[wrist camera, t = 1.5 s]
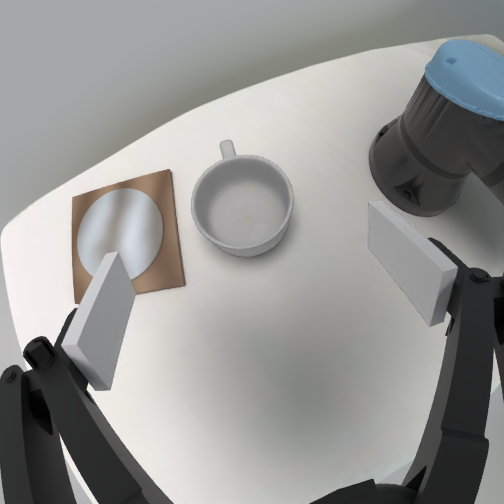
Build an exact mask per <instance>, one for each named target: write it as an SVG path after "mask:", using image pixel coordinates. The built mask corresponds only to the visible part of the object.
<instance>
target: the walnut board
mask: <svg viewBox="0 0 504 504" xmlns="http://www.w3.org/2000/svg"><path fill="white" fill-rule="evenodd" d="M116 251H119V254H120V256H121V259H122V261H123V263H124V266H125V268H126V271H127V273H128V275H129V278H130V280H131V282H132V285H133V287H134V289H135V291H136V294H142V293H147V292H153V291H158V290H164V289H169V288H174V287H180V286H185V285H186V284H185V278H184V271H183V264H182V257H181V250H180V242H179V234H178V226H177V218H176V209H175V200H174V191H173V181H172V173H171V171H170V169H167V170H163V171H159V172H156V173H152V174H148V175H144V176H141V177H137V178H133V179H130V180H126V181H123V182H119V183H116V184H113V185H109V186H106V187H103V188H100V189H96V190H93V191H90V192H87V193H84V194H81V195H78V196H75V197H73V199H72V268H73V286H74V299H75V304H80V303H81V301H82V299H83V297H84V295H85V293H86V291H87V289H88V287H89V285H90V283H91V281H92V279H93V277H94V275H95V273H96V271H97V269H98V267H99V266H100V264H101V262H102V260H103V258H104V256H105V255H106V254H107V253H112V252H116Z"/></svg>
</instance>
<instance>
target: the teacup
mask: <svg viewBox="0 0 504 504" xmlns="http://www.w3.org/2000/svg"><path fill="white" fill-rule="evenodd" d="M220 149H221V152H222V156H223V160H221V161H219V162H217V163H215V164H214V165H212V166H211V167H209V168H208V169H207V170H206V171H205V172H204V173H203V174H202V175H201V177H200V178H199V179H198V181H197V183H196V185H195V187H194V190H193V193H192V198H191V212H192V216H193V219H194V222H195V224H196V226H197V228H198V229H199V230H200V232H201V233H202V234H203V235H204V236H205V237H206V238H207V239H209V240H210V241H211V242H212V243H213V244H215V245H216V246H217V247H218V248H220V249H221V250H223V251H225V252H227V253H229V254H232V255H236V256H242V257H248V256H255V255H259V254H262V253H264V252H266V251H268V250H270V249H271V248H273V247H274V246H275V245H276V244H277V243H278V242H279V241H280V240H281V239H282V237H283V236H284V234H285V232H286V230H287V228H288V225H289V222H290V217H291V213H292V209H293V200H294V197H293V190H292V186H291V184H290V181H289V179H288V178H287V176H286V175H285V173H284V172H283V171H282V170H281V169H280V168H279V167H278V166H277V165H276V164H274V163H273V162H271V161H270V160H267V159H265V158H263V157H259V156H254V155H238V156H236V153H235V149H234V146H233V143H232V141H231V140H225V141H222V142H221V143H220Z"/></svg>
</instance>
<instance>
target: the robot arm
mask: <svg viewBox="0 0 504 504" xmlns="http://www.w3.org/2000/svg"><path fill="white" fill-rule="evenodd" d="M369 163H370V169H371V172H372V175H373V177H374V180H375V182H376V183H377V185H378V187H379V188H380V190H381V191H382V192H383V194H384V195H385V196H386V197H387V198H388V199H389V200H390V201H391V202H392V203H394V204H395V205H396V206H398V207H399V208H401V209H402V210H404V211H406V212H408V213H411V214H414V215H417V216H425V217H427V216H434V215H438V214H440V213H442V212H443V211H445V210H446V209H447V208H449V207H450V206H451V205H452V204H453V203H454V202H455V201H456V199H457V198H458V196H459V194H460V191H461V189H462V187H463V185H464V182H465V180H466V178H467V175H468V174H469V173H471V172H472V171H473V172H474V173H475V174H476V175H477V177H479V178H480V179H481V181H482V182H483V183H484V184H485V185H486V186H487V187H488V188H489V189H490V190H491V191H492V193H493V194H494V195H495V196H496V197H497V198H498V199H499V200H500V202H501V203H502V204H503V205H504V57H503V56H501V55H500V54H498V53H497V52H495V51H493V50H492V49H490V48H488V47H486V46H484V45H481V44H479V43H476V42H471V41H468V40H462V39H456V40H450V41H447V42H445V43H444V44H442V45H441V46H440V48H439V49H438V51H437V52H436V54H435V55H434V57H433V59H432V60H431V61H430V62H429V63H428V64H427V65H426V67H425V73H424V75H423V77H422V79H421V81H420V83H419V85H418V87H417V89H416V90H415V92H414V94H413V96H412V98H411V100H410V102H409V103H408V105H407V107H406V109H405V111H404V112H403V114H402V115H400V116H399V117H397V118H396V119H394V120H393V121H391V122H390V123H388V124H387V125H386V126H384V127H383V128H382V129H381V130H380V131H379V132H378V134H377V135H376V137H375V139H374V141H373V143H372V145H371V148H370V153H369ZM368 248H369V250H370V251H371V252H372V253H373V254H374V256H375V257H376V258H377V259H378V261H379V262H380V263H381V264H382V265H383V267H384V268H385V269H386V270H387V272H388V273H389V274H390V275H391V277H392V278H393V279H394V281H395V282H396V283H397V284H398V286H399V287H400V288H401V290H402V291H403V292H404V293H405V295H406V296H407V297H408V299H409V300H410V301H411V303H412V304H413V305H414V307H415V308H416V309H417V311H418V312H419V313H420V315H421V316H422V318H423V319H424V320H425V322H426V323H427V325H428V326H429V327H430V326H433V325H436V324H439V323H441V322H443V321H444V318H445V315H446V311H448V313H449V314H450V315H451V320H450V323H449V326H448V328H447V331H446V334H445V336H447V341H446V347H445V352H444V357H443V362H442V367H441V372H440V376H439V380H438V385H437V389H436V393H435V396H434V400H433V404H432V407H431V411H430V414H429V418H428V421H427V424H426V427H425V431H424V434H423V437H422V440H421V442H420V445H419V448H418V451H417V454H416V456H415V459H414V461H413V464H412V466H411V468H410V469H409V471H408V473H407V475H406V477H405V479H404V481H403V483H402V485H396V484H375V482H374V479H370V480H367V481H364V482H361V483H358V484H354V485H351V486H348V487H344V488H341V489H338V490H336V491H334V492H332V493H330V494H328V495H326V496H324V497H322V498H320V499H318V500H316V501H314V502H312V503H309V504H474V502H475V499H476V496H477V493H478V489H479V486H480V482H481V479H482V475H483V471H484V467H485V463H486V459H487V455H488V449H489V440H488V439H486V438H485V436H484V433H485V426H486V421H487V414H488V408H489V400H490V392H491V383H492V371H493V353H494V350H495V354H496V359H497V364H498V369H499V375H500V381H501V387H502V393H503V400H504V273H503V276H502V277H491V276H490V275H489V274H488V273H487V272H486V271H484V270H482V269H479V268H468V267H467V266H466V265H465V264H464V263H463V262H462V261H461V260H460V259H459V258H458V257H457V256H455V255H454V254H452V252H451V251H450V250H449V249H447V247H445V246H444V245H443V244H442V243H441V242H439V241H437V240H435V239H433V238H426V237H425V236H424V235H423V234H422V233H420V232H419V231H418V230H417V229H416V228H415V227H413V226H412V225H411V224H410V223H409V222H408V221H406V220H405V219H404V218H403V217H402V216H400V215H399V214H398V213H397V212H396V211H394V210H393V209H392V208H391V207H389V206H388V205H387V204H386V203H384V202H383V201H382V200H378V201H372V202H369V223H368ZM135 296H136V291H135V289H134V287H133V285H132V282H131V280H130V278H129V275H128V273H127V271H126V268H125V266H124V263H123V261H122V259H121V256H120V254H119V251H116V252H112V253H107V254H106V255H105V256H104V258H103V260H102V262H101V264H100V266H99V267H98V269H97V271H96V273H95V275H94V277H93V279H92V281H91V283H90V285H89V287H88V289H87V291H86V293H85V295H84V297H83V299H82V301H81V303H80V305H79V307H78V308H74V310H73V311H72V312H71V313H70V314H69V315H68V317H67V319H66V321H65V323H64V325H63V327H62V329H61V332H60V334H59V336H58V338H57V340H56V342H55V345H54V347H53V346H52V344H51V343H50V342H49V340H48V339H47V338H46V337H44V336H40V337H37V338H35V339H33V340H32V341H30V342H29V343H28V344H27V346H26V347H25V349H24V351H23V357H24V358H25V360H26V361H27V362H28V363H29V365H30V366H31V367H32V368H33V369H32V370H29V371H26V372H23V370H22V369H21V368H20V367H19V366H18V365H12V366H10V367H9V368H7V369H6V370H5V371H4V372H3V374H2V376H1V378H0V469H1V478H2V487H3V494H4V500H5V504H77V503H76V500H75V497H74V493H73V490H72V487H71V483H70V479H69V476H68V472H67V468H66V464H65V459H64V455H63V450H62V446H61V441H60V436H59V433H60V435H61V438H62V440H63V442H64V444H65V446H66V448H67V450H68V452H69V454H70V456H71V458H72V459H73V461H74V463H75V465H76V467H77V469H78V470H79V472H80V474H81V476H82V477H83V479H84V481H85V483H86V484H87V486H88V487H89V489H90V491H91V492H92V494H93V496H94V497H95V499H96V500H97V502H98V503H99V504H174V503H173V502H172V501H171V500H170V499H169V498H168V497H167V496H166V495H165V494H164V493H163V491H162V490H161V489H160V488H159V487H158V486H157V485H156V484H155V482H154V481H153V480H152V479H151V478H150V477H149V475H148V474H147V473H146V472H145V471H144V469H143V468H142V467H141V466H140V465H139V463H138V462H137V461H136V459H135V458H134V457H133V456H132V454H131V453H130V452H129V450H128V449H127V448H126V446H125V445H124V444H123V442H122V441H121V440H120V438H119V437H118V435H117V434H116V433H115V431H114V430H113V428H112V427H111V425H110V424H109V423H108V421H107V420H106V418H105V417H104V415H103V414H102V412H101V410H100V409H99V407H98V406H97V404H96V403H95V401H94V399H93V398H92V396H91V395H90V393H89V392H88V391H87V390H86V389H87V386H88V382H89V384H90V385H91V386H92V387H93V388H94V390H95V391H105V390H111V386H112V382H113V377H114V373H115V369H116V365H117V361H118V357H119V353H120V349H121V345H122V341H123V337H124V334H125V330H126V327H127V323H128V319H129V316H130V312H131V309H132V306H133V302H134V299H135Z"/></svg>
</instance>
